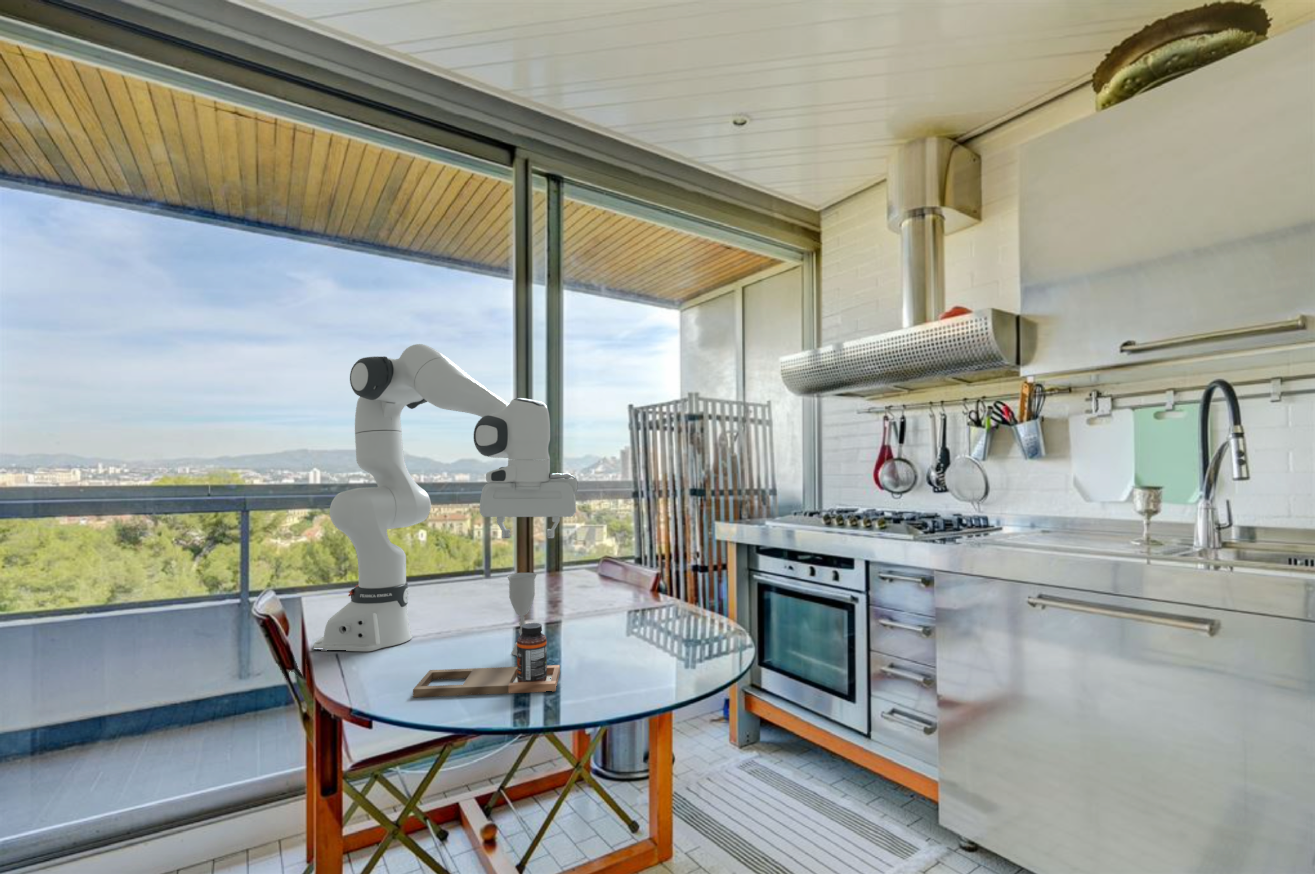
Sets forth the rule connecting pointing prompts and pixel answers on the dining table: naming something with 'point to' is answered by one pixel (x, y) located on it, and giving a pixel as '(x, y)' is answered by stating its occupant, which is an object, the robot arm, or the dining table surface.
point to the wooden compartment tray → (484, 682)
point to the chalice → (521, 596)
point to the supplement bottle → (531, 654)
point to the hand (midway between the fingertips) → (528, 537)
